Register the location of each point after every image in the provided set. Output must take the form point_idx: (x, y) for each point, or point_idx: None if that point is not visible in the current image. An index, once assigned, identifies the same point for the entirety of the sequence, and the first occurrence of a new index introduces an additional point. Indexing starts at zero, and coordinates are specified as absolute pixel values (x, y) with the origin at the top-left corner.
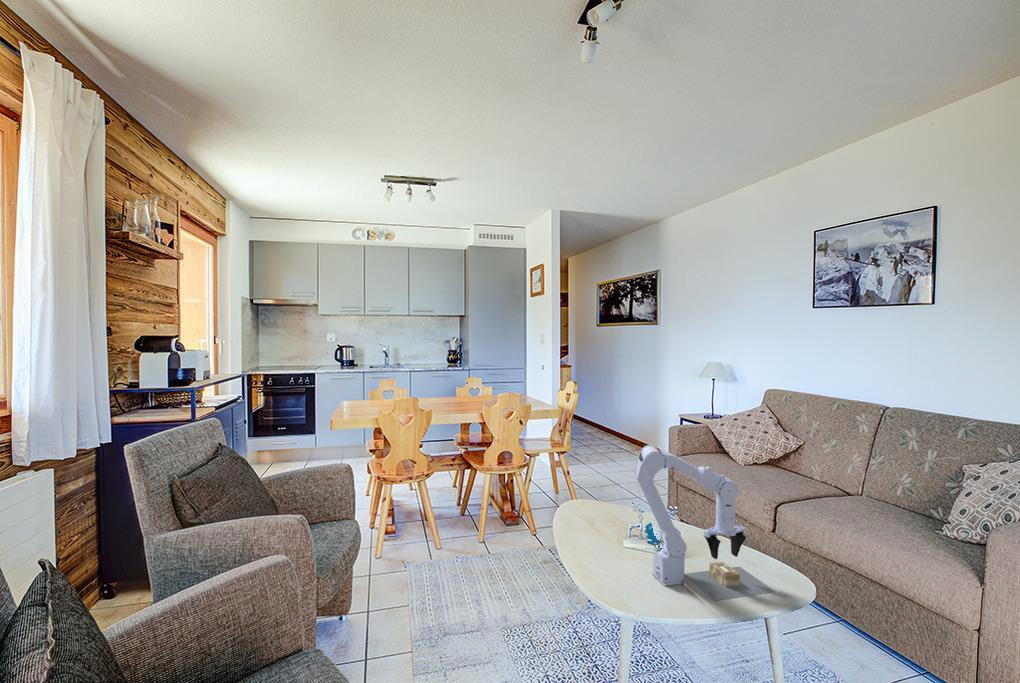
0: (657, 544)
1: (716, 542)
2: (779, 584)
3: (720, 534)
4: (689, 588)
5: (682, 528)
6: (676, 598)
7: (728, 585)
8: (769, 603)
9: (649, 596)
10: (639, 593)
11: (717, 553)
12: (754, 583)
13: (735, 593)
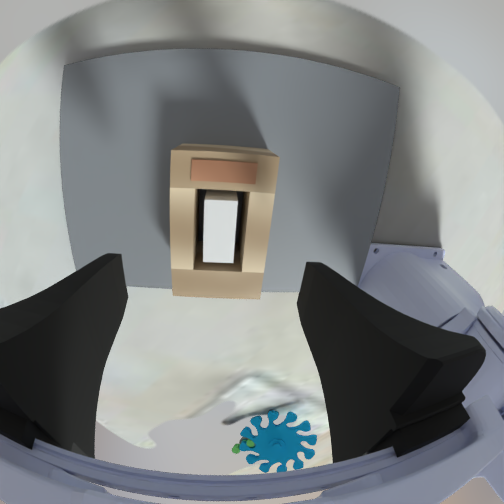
0: (289, 421)
1: (458, 342)
2: (11, 145)
3: (430, 468)
4: (394, 212)
5: (148, 445)
6: (462, 180)
7: (251, 147)
8: (151, 12)
9: (492, 218)
10: (494, 238)
11: (334, 281)
12: (97, 142)
13: (267, 84)
